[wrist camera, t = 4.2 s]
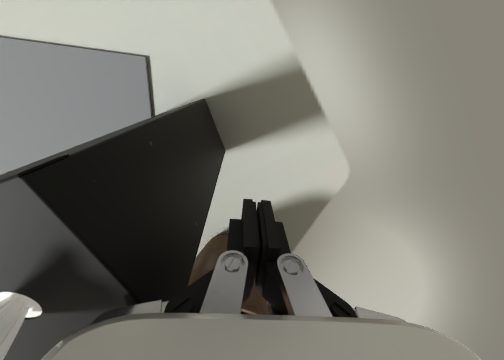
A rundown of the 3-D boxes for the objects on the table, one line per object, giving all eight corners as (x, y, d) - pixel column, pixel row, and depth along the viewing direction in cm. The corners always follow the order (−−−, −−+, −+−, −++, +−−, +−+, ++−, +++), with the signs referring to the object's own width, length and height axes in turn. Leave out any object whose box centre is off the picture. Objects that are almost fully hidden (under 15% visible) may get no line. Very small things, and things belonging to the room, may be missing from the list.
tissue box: (205, 97, 27) (-371, 330, 2) (226, 150, 30) (136, 491, 5) (153, 116, 28) (-758, 458, 3) (179, 165, 31) (-99, 522, 6)
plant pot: (199, 206, 34) (167, 295, 20) (276, 230, 37) (297, 322, 23) (179, 264, 40) (144, 364, 26) (247, 280, 43) (249, 378, 29)
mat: (-123, 20, 22) (-130, 19, 22) (146, 57, 25) (144, 56, 24) (-32, 180, 31) (-36, 181, 31) (160, 196, 33) (159, 197, 33)
